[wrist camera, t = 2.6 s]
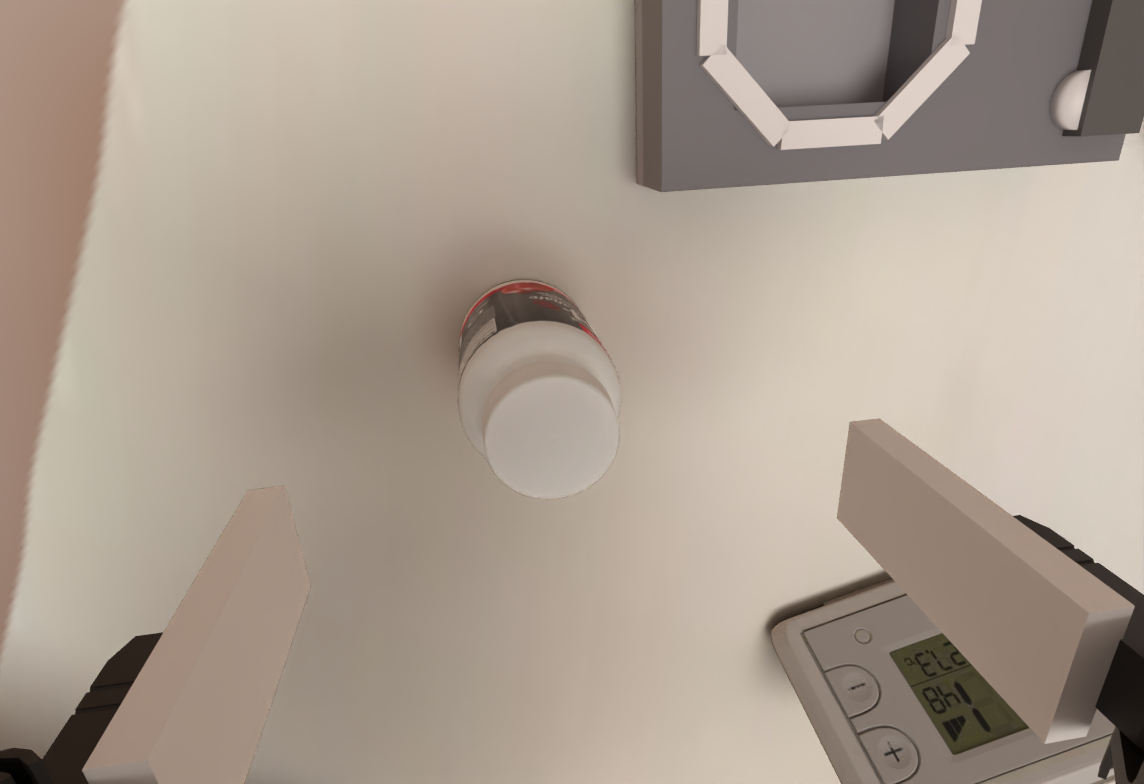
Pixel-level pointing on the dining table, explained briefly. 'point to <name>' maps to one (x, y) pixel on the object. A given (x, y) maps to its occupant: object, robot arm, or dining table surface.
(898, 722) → the digital clock
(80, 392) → the dining table surface
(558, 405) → the pill bottle
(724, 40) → the octagonal hole plate
